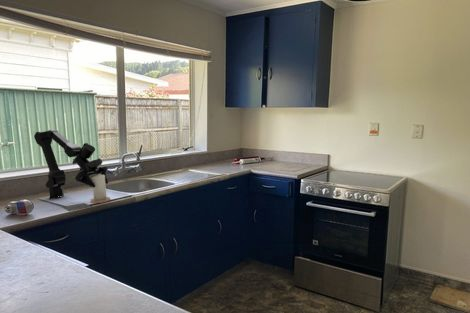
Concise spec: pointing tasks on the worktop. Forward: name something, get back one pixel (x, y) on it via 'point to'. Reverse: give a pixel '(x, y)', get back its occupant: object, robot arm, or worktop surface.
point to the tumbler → (99, 187)
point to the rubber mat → (76, 206)
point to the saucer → (100, 200)
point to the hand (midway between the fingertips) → (101, 185)
